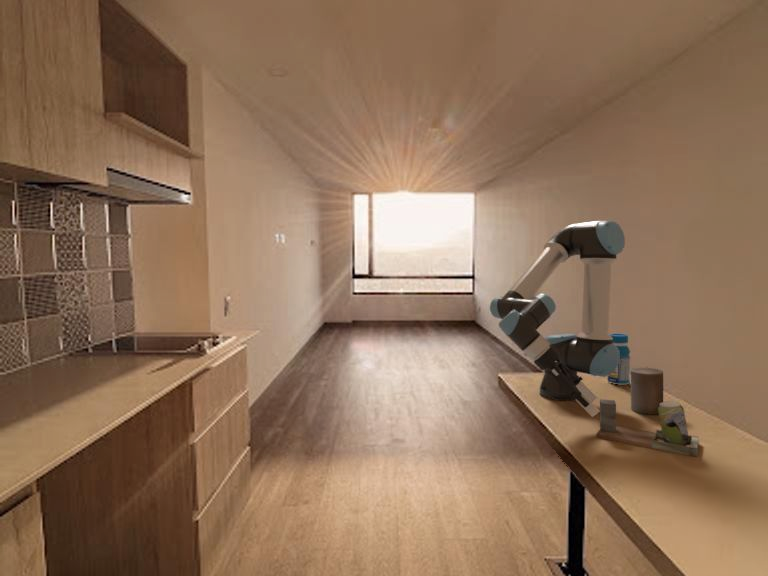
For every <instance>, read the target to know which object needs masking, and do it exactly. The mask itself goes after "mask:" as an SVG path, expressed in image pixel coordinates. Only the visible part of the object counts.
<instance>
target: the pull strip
mask: <svg viewBox="0 0 768 576" xmlns="http://www.w3.org/2000/svg"><path fill="white" fill-rule="evenodd" d="M599 410H600V412H599V429H598V431H597V432H596V438H598V439H604V440H609V441H614V442H620V443H624V444H629V445H635V446H639V447H643V448H650V449H654V450H655V449H656V450H660V451H666V452H671V453H674V454H681V455H686V456H691V457H695V458H696V457H698V450H699V441H700V440H699V436H697V435H691V434H688V437H689V442H690V443H689V444H690V446H689V445H687V446H682V445H677V444H672V443H666V442H664V441H659V440H656V439H657V438H660V439H663V435H662V429H656V430H655V431H656V432H653V431H647V430H642V429H637V428H632V427H631V428H630V427H625V426H621V425H620V426H619V425H617V403H616V401H615V400H614V399H603V398H599Z"/></svg>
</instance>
